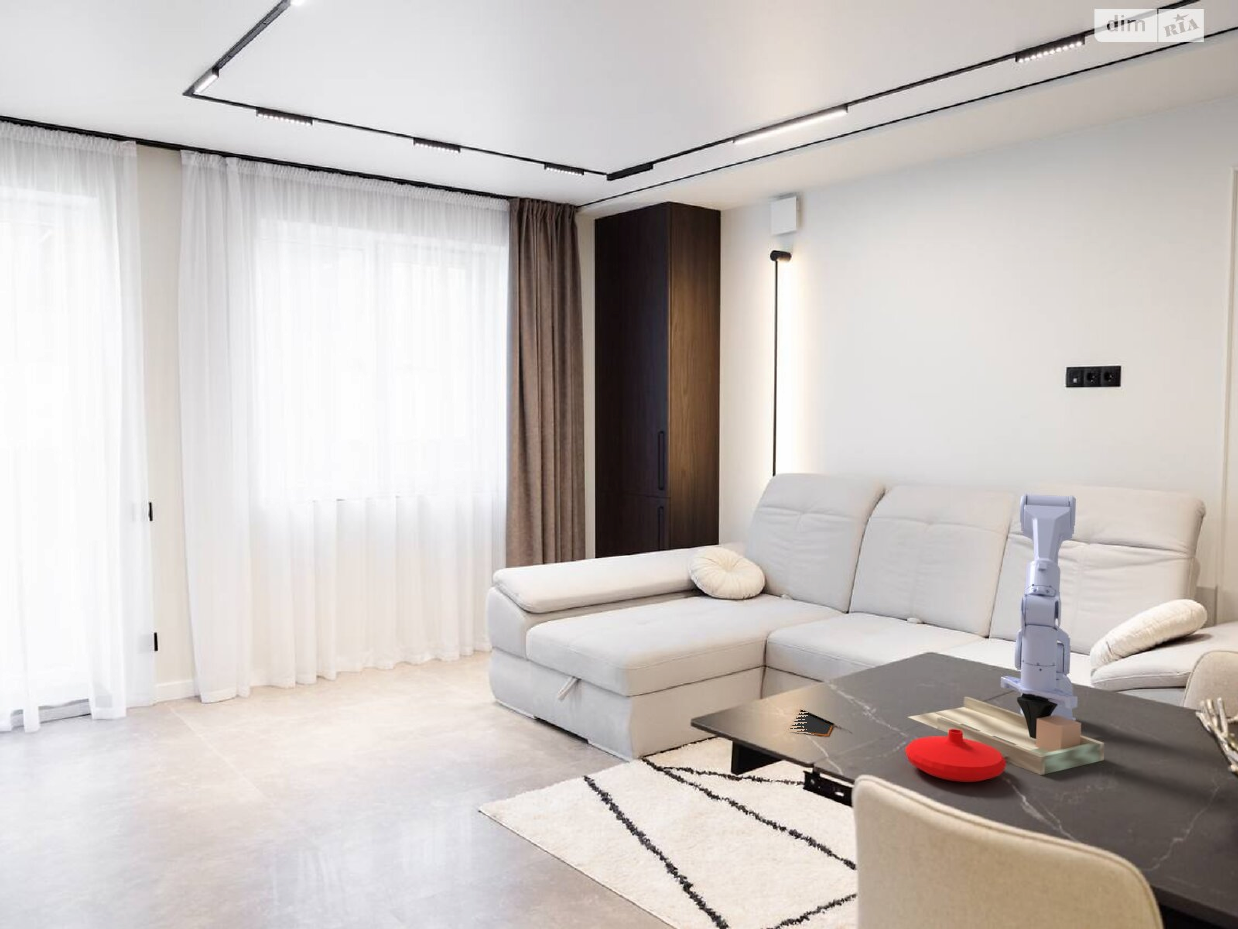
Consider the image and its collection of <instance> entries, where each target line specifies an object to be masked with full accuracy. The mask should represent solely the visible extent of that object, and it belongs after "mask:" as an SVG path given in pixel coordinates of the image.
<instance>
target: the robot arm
mask: <svg viewBox="0 0 1238 929" xmlns="http://www.w3.org/2000/svg"><path fill="white" fill-rule="evenodd" d="M1076 503H1077V498H1076V497H1075V495H1069V496H1068V495H1049V494H1048V495H1046V494H1028V493H1023V494H1022V495H1021V496H1020V502H1019V522H1020V529H1021V532H1022V536H1024V537H1026V538H1028V539H1029V540H1031V541H1032V543H1033V560H1032V561H1030V562H1028V564H1027V565H1026V569H1025V570H1026V571H1025V579H1024V580H1025V581H1024V595H1023V596H1021V599H1020V604H1019V605H1020V607H1019V608H1020V609H1019V611H1020V612H1019V621H1020V626H1021V628H1019V629H1018V631H1017V633H1016V640H1015V645H1014V667H1015V669H1016V670H1018V671H1020V678H1019V677H1015V676H1014V677H1013V676H1010V675H1005V676H1001V677H1000V688H1002V689H1009V690H1013V691H1015V692H1018V693H1020V696H1017V697H1016V702H1017V704H1018V705H1019V707H1020V715H1023V716H1025V719H1026V723H1027V726H1028V731H1029V735H1030V737H1031V738H1034V739H1036V729H1037V719H1038V718H1043V717H1048V716H1053V715H1058V716H1061V717H1064V718H1067V719H1070V720H1073V721H1076V722H1077V718H1075V717H1074V716H1073V709H1076V708H1078V696H1076V695H1074V686H1073V683H1072V680H1071V679H1070V678H1069V677H1068V675H1069V674H1070V673H1071V672H1070V671H1071V669H1070V668H1071V638H1070V636H1069V634H1068V633H1067V632H1065V631H1064V630H1063V629H1062V628H1061V627H1060V626H1061V622H1062V619H1061V618H1062V602H1061V592H1060V589H1061V586H1060V585H1061V568H1060V566H1059V552H1060V549H1061V547H1062V545H1063V542H1066V541H1068V540H1071V539H1073V535H1074V533H1075V526H1076V512H1077V511H1076V510H1077V508H1076ZM1056 620H1057V624H1056ZM1058 641H1059V642H1058Z"/></svg>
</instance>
